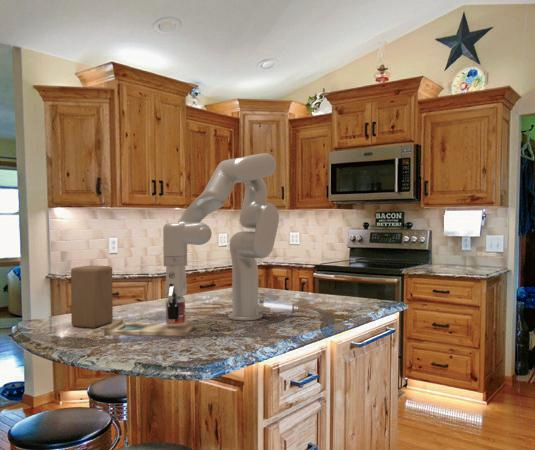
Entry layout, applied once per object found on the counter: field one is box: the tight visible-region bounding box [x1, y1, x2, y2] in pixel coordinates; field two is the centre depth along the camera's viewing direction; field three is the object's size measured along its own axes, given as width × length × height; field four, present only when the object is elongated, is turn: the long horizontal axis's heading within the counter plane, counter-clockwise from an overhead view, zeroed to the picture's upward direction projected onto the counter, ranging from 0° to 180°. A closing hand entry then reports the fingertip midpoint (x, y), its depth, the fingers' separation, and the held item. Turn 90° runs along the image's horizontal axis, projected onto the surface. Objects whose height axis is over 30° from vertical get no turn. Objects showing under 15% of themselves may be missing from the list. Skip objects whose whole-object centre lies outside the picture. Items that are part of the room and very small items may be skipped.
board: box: [103, 319, 196, 337], centre depth 148 cm, size 26×12×2 cm, turn 88°
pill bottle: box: [165, 293, 186, 326], centre depth 148 cm, size 6×6×11 cm
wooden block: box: [70, 265, 114, 329], centre depth 158 cm, size 10×10×20 cm
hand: (175, 316), depth 148 cm, fingers closed on pill bottle, 6 cm apart
